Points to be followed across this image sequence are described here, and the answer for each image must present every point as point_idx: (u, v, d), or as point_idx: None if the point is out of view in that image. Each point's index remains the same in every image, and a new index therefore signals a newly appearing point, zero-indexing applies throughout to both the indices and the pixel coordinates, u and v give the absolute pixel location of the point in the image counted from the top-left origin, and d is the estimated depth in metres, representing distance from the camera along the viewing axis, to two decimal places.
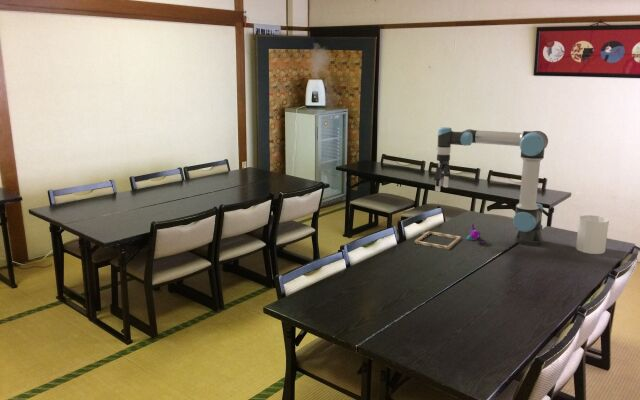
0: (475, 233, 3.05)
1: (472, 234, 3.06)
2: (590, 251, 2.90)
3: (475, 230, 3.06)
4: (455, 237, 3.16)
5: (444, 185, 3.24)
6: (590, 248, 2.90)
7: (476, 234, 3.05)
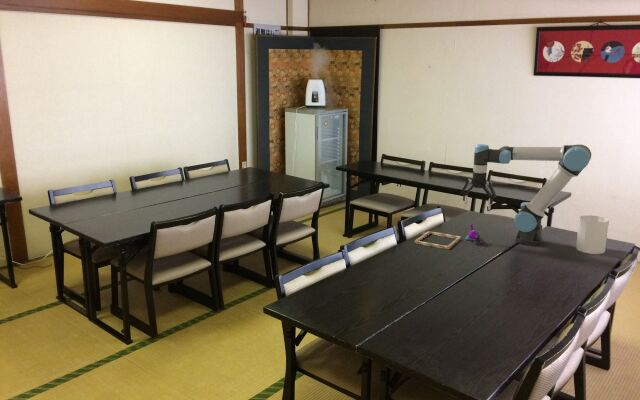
0: (473, 233, 3.05)
1: (470, 234, 3.06)
2: (590, 251, 2.90)
3: (473, 230, 3.06)
4: (455, 237, 3.16)
5: None
6: (590, 248, 2.90)
7: (474, 234, 3.05)
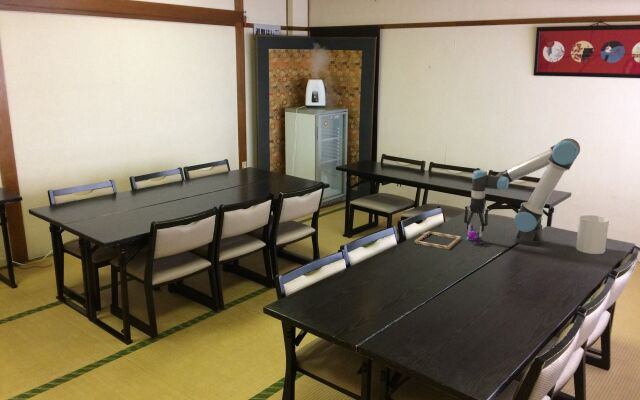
0: (472, 234, 3.04)
1: (469, 235, 3.05)
2: (590, 251, 2.90)
3: (472, 231, 3.05)
4: (455, 237, 3.16)
5: None
6: (590, 248, 2.90)
7: (473, 235, 3.04)
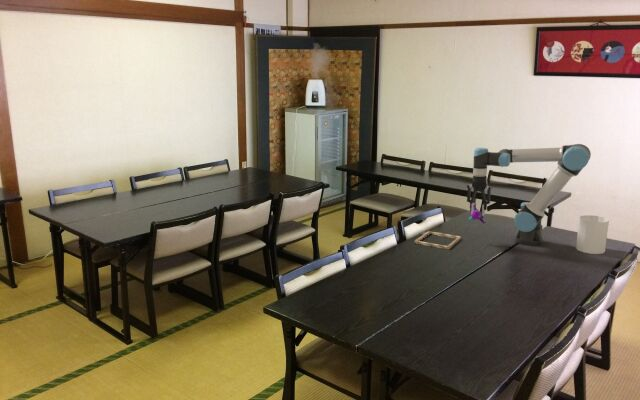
0: (476, 213, 3.00)
1: (473, 214, 3.01)
2: (590, 251, 2.90)
3: (476, 210, 3.01)
4: (455, 237, 3.16)
5: None
6: (590, 248, 2.90)
7: (477, 214, 3.00)
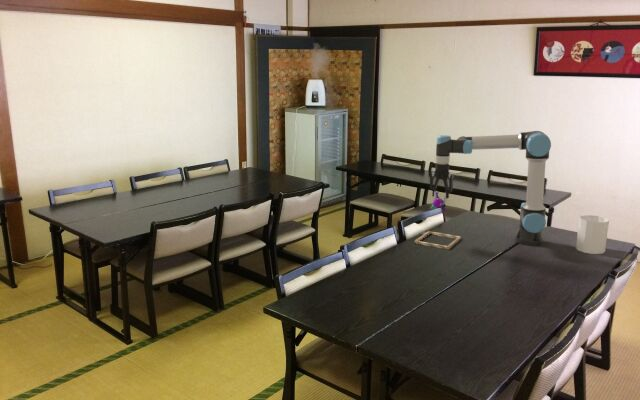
0: (437, 201, 2.97)
1: (434, 202, 2.98)
2: (590, 251, 2.90)
3: (438, 198, 2.98)
4: (455, 237, 3.16)
5: None
6: (590, 248, 2.90)
7: (438, 202, 2.97)
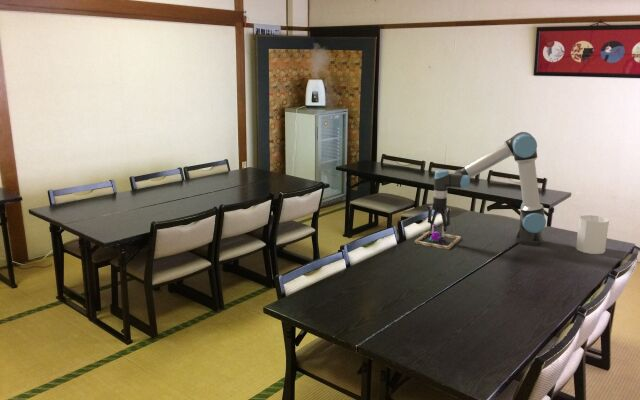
0: (435, 235, 3.02)
1: (432, 235, 3.03)
2: (590, 251, 2.90)
3: (435, 232, 3.03)
4: (455, 237, 3.16)
5: None
6: (590, 248, 2.90)
7: (436, 236, 3.02)
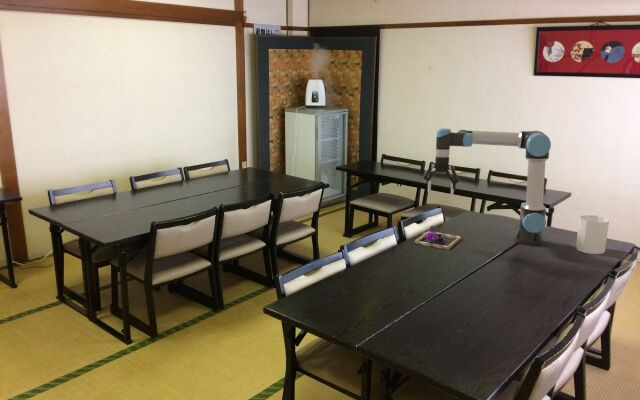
0: (429, 235, 3.02)
1: (427, 236, 3.03)
2: (590, 251, 2.90)
3: (430, 232, 3.02)
4: (455, 237, 3.16)
5: None
6: (590, 248, 2.90)
7: (430, 236, 3.01)
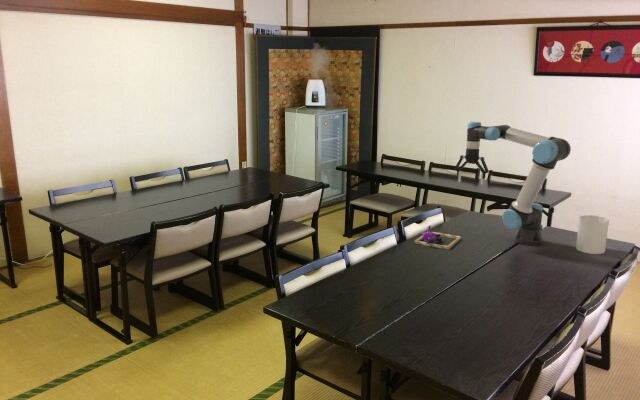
0: (425, 235, 3.02)
1: (423, 235, 3.04)
2: (590, 251, 2.90)
3: (427, 232, 3.03)
4: (455, 237, 3.16)
5: None
6: (590, 248, 2.90)
7: (426, 236, 3.02)
